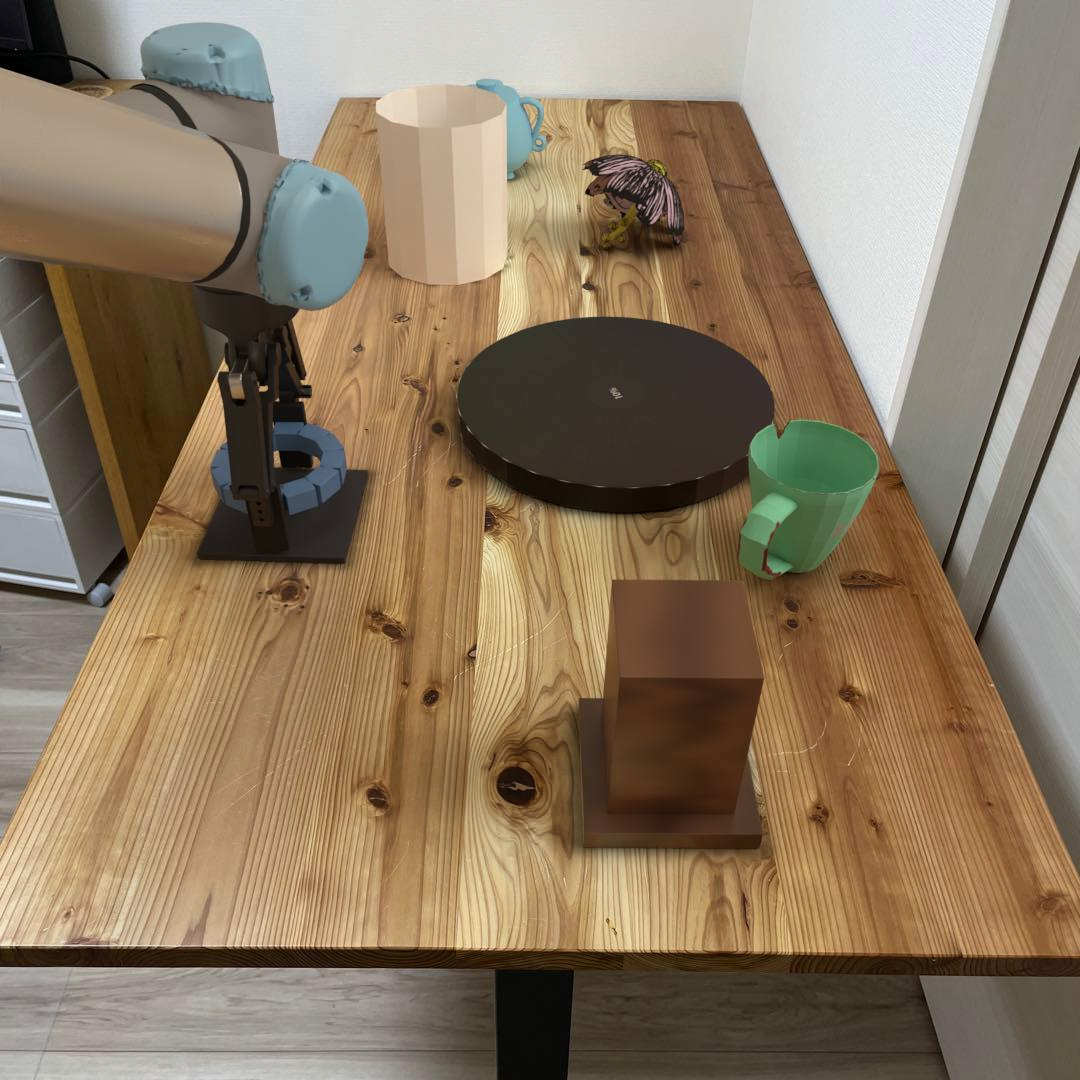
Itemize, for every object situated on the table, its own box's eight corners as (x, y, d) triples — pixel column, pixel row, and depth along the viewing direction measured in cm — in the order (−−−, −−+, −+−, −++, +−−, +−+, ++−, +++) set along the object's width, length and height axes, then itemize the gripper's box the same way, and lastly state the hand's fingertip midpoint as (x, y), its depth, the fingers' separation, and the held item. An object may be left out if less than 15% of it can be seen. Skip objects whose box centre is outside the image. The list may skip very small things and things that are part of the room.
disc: (407, 383, 107) (405, 357, 106) (655, 315, 119) (657, 290, 117) (556, 556, 88) (557, 528, 86) (836, 454, 99) (842, 427, 97)
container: (413, 294, 122) (402, 135, 110) (370, 245, 132) (355, 94, 120) (527, 270, 127) (527, 115, 116) (477, 224, 137) (473, 77, 125)
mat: (345, 563, 87) (344, 558, 86) (198, 559, 87) (196, 553, 86) (368, 475, 96) (367, 469, 95) (235, 471, 96) (234, 465, 96)
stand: (583, 847, 67) (593, 697, 58) (578, 711, 75) (586, 562, 66) (759, 848, 67) (796, 699, 58) (734, 713, 75) (764, 563, 66)
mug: (765, 501, 93) (783, 405, 87) (871, 544, 89) (899, 446, 83) (682, 595, 84) (695, 494, 78) (797, 647, 80) (821, 546, 74)
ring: (202, 515, 85) (197, 497, 83) (231, 438, 93) (227, 421, 91) (336, 516, 85) (333, 498, 83) (353, 439, 93) (351, 422, 92)
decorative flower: (724, 181, 123) (603, 144, 120) (692, 279, 128) (573, 247, 124) (692, 169, 137) (581, 135, 133) (663, 259, 141) (555, 228, 137)
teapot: (541, 196, 144) (542, 106, 136) (419, 191, 145) (413, 101, 137) (551, 142, 159) (552, 59, 152) (440, 138, 160) (436, 55, 152)
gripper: (262, 345, 68) (307, 598, 82) (319, 198, 85) (348, 428, 99) (143, 344, 68) (209, 598, 82) (225, 197, 85) (267, 427, 99)
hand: (286, 505), depth 91 cm, fingers closed on ring, 10 cm apart
